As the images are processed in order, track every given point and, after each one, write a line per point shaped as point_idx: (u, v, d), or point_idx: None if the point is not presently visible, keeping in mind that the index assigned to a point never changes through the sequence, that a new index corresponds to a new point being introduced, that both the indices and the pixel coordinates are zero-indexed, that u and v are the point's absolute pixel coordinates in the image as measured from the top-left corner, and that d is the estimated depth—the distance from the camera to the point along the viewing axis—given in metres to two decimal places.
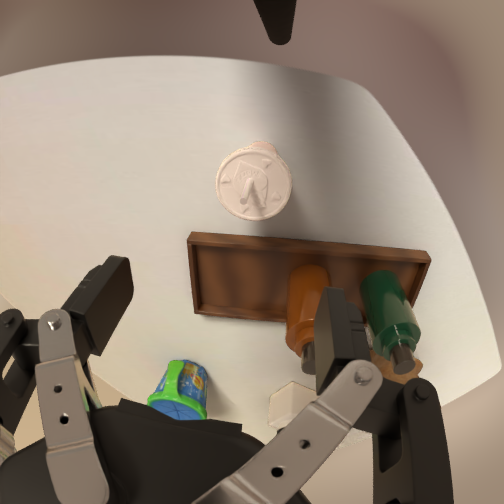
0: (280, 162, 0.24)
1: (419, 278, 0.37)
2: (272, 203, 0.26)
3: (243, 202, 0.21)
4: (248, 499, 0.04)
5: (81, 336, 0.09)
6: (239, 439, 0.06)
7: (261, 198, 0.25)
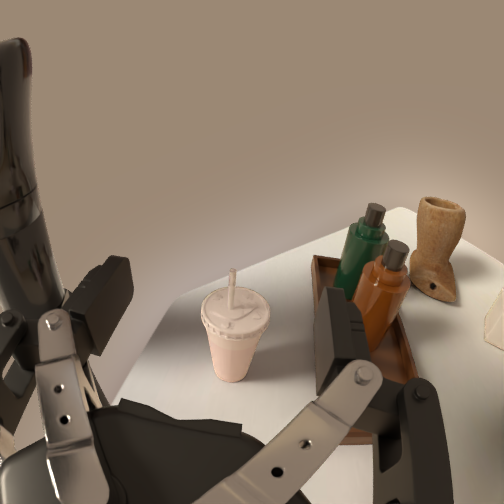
0: (216, 290, 0.30)
1: (332, 261, 0.50)
2: (253, 298, 0.29)
3: (234, 271, 0.25)
4: (248, 499, 0.04)
5: (81, 336, 0.09)
6: (239, 439, 0.06)
7: (247, 302, 0.28)
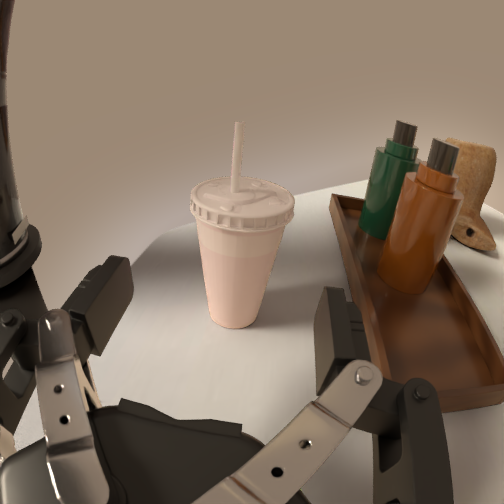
0: None
1: (354, 201, 0.41)
2: (268, 187, 0.20)
3: (241, 123, 0.16)
4: (248, 499, 0.04)
5: (81, 336, 0.09)
6: (239, 439, 0.06)
7: (259, 188, 0.19)
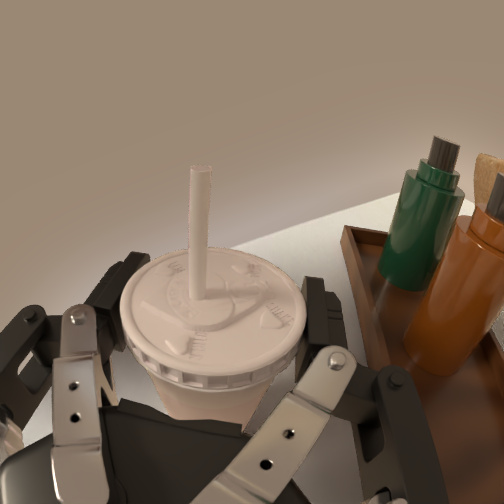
0: (169, 253, 0.12)
1: (372, 235, 0.33)
2: (260, 275, 0.12)
3: (204, 172, 0.08)
4: (242, 495, 0.04)
5: (106, 331, 0.09)
6: (239, 439, 0.06)
7: (244, 283, 0.11)
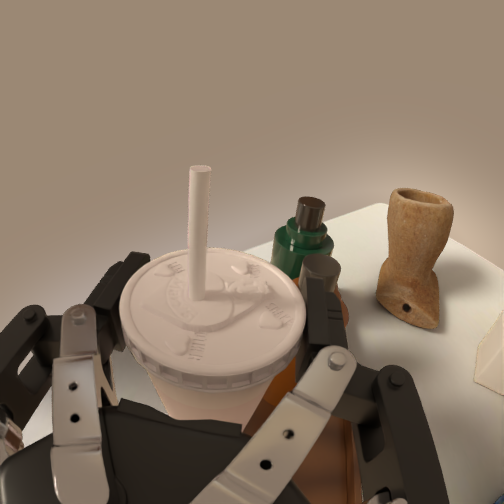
0: (169, 253, 0.12)
1: None
2: (259, 275, 0.12)
3: (203, 172, 0.08)
4: (242, 494, 0.04)
5: (106, 331, 0.09)
6: (239, 439, 0.06)
7: (243, 283, 0.11)
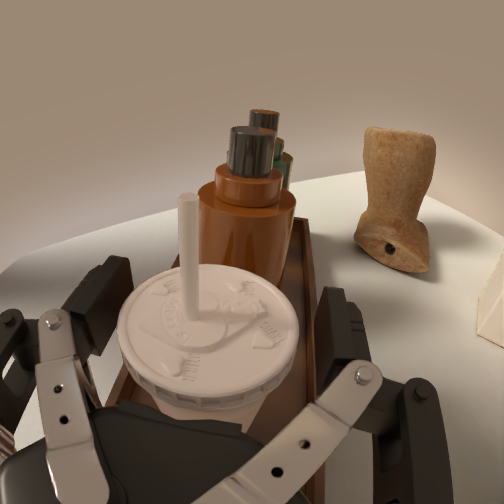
0: (165, 271, 0.12)
1: None
2: (254, 292, 0.12)
3: (192, 200, 0.08)
4: (248, 499, 0.04)
5: (81, 336, 0.09)
6: (239, 439, 0.06)
7: (237, 302, 0.11)
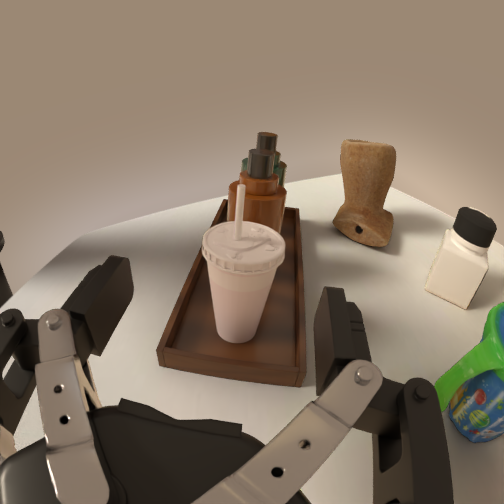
0: (220, 223, 0.25)
1: None
2: (264, 232, 0.25)
3: (242, 187, 0.21)
4: (248, 499, 0.04)
5: (81, 336, 0.09)
6: (239, 439, 0.06)
7: (257, 234, 0.24)
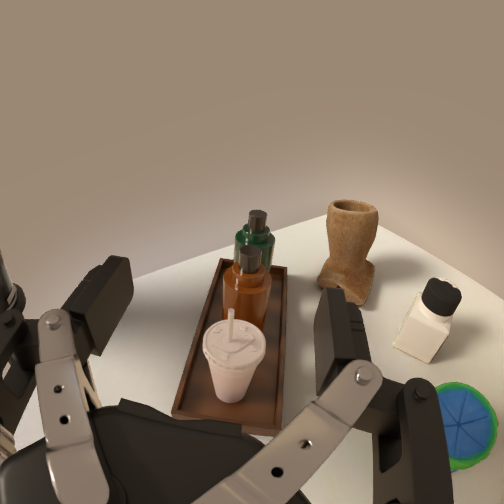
0: None
1: None
2: (250, 331, 0.31)
3: (232, 311, 0.28)
4: (248, 499, 0.04)
5: (81, 336, 0.09)
6: (239, 439, 0.06)
7: (244, 335, 0.31)
